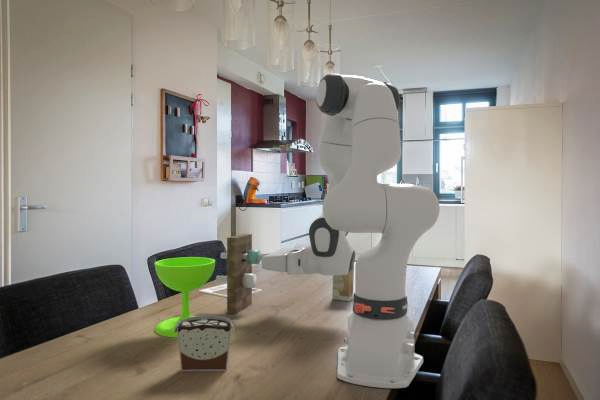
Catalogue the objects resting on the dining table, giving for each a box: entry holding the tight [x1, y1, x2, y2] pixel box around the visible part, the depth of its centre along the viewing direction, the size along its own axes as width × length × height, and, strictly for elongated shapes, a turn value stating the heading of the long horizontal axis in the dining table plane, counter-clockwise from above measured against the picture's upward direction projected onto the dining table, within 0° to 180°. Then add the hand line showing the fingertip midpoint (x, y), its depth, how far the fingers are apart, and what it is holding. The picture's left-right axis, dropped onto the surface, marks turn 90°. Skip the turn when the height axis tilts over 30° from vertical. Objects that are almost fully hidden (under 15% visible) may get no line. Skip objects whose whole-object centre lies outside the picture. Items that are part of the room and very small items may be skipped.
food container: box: [174, 314, 235, 372], centre depth 93 cm, size 12×6×10 cm, turn 92°
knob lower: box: [215, 273, 257, 288], centre depth 138 cm, size 13×4×4 cm, turn 73°
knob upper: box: [220, 249, 262, 265], centre depth 138 cm, size 13×4×4 cm, turn 73°
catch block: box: [226, 233, 253, 315], centre depth 138 cm, size 3×12×23 cm, turn 163°
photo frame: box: [198, 283, 263, 298], centre depth 161 cm, size 15×1×18 cm
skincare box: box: [331, 264, 355, 303], centre depth 150 cm, size 6×4×12 cm
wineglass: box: [153, 256, 216, 338], centre depth 119 cm, size 16×16×18 cm
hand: (258, 256), depth 136 cm, fingers closed, pressing on knob upper
